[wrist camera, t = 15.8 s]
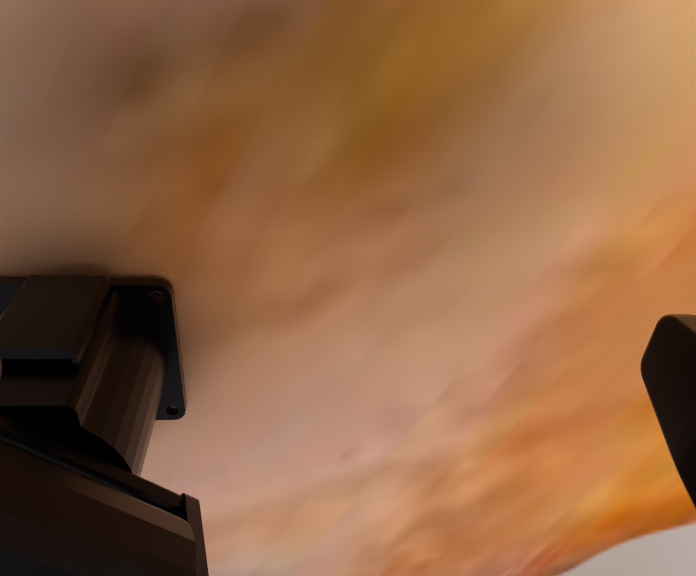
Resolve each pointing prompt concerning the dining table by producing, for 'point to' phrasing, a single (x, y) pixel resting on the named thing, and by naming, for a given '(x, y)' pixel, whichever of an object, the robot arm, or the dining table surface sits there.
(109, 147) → the dining table surface
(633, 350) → the dining table surface
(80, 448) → the robot arm
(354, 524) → the dining table surface
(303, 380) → the dining table surface
